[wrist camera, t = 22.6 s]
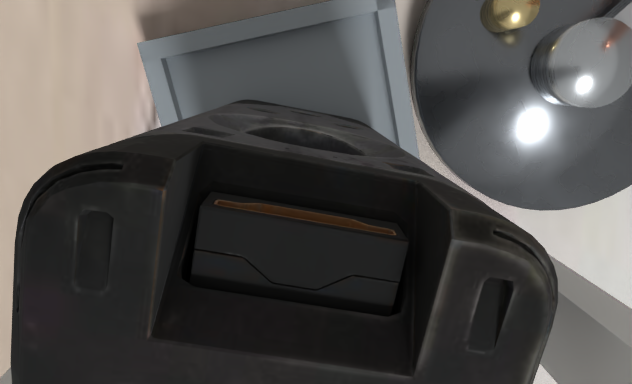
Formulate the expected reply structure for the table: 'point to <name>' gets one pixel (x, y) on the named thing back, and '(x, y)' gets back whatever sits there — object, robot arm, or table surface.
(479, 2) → the crank base
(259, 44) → the tray
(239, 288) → the electronic device
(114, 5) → the table surface
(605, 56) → the crank
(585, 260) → the table surface
